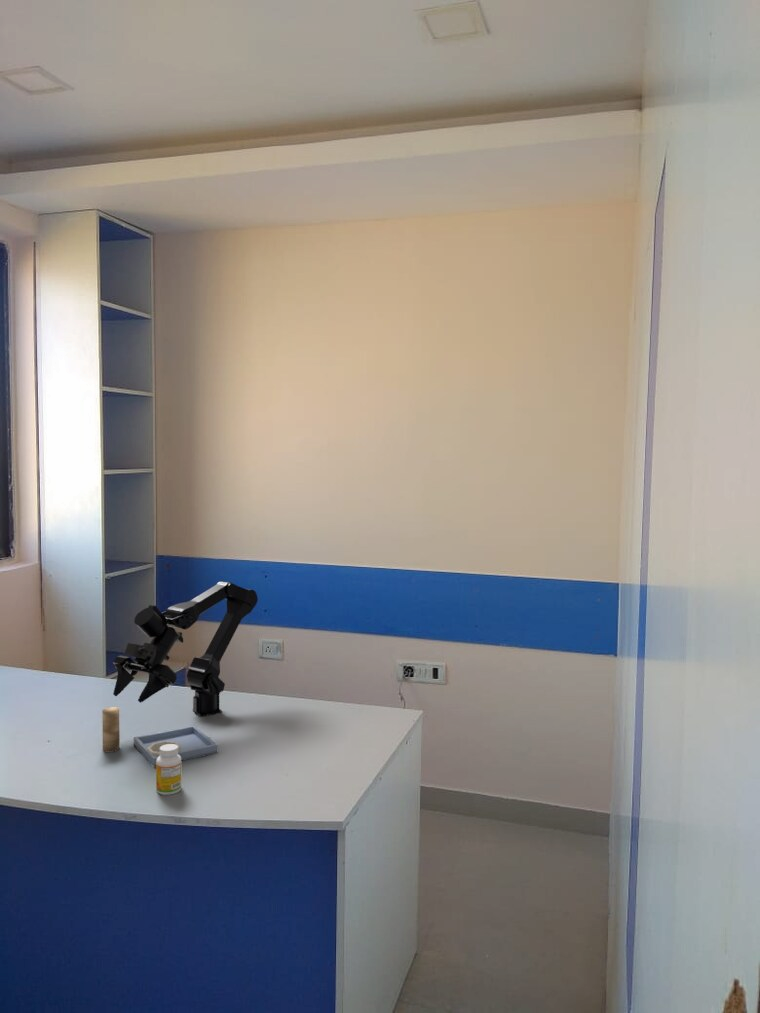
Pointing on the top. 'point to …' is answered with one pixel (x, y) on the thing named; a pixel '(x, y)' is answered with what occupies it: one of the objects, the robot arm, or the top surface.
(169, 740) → the tray
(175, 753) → the supplement bottle
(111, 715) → the peg
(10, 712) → the top surface
